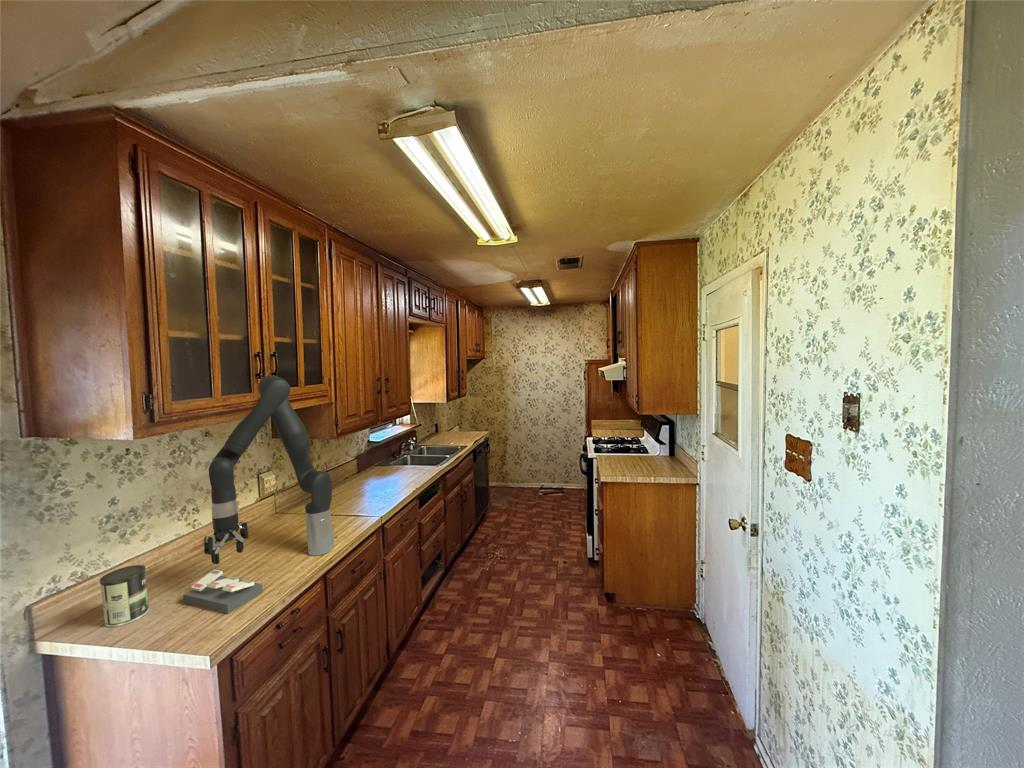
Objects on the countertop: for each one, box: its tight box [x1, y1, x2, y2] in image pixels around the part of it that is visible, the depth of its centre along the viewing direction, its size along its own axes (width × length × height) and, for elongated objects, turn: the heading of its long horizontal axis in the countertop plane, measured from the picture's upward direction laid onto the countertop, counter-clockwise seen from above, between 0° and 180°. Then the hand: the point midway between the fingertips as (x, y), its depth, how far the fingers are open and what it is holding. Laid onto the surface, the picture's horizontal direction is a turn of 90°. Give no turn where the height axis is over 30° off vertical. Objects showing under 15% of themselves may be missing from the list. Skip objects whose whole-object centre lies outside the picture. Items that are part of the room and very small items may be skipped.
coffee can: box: [99, 564, 150, 628], centre depth 127 cm, size 10×10×14 cm
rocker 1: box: [190, 569, 224, 591], centre depth 138 cm, size 8×5×1 cm, turn 161°
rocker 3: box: [222, 580, 255, 592], centre depth 134 cm, size 8×5×1 cm, turn 161°
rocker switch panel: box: [182, 575, 263, 615], centre depth 136 cm, size 12×20×3 cm, turn 71°
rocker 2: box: [207, 577, 240, 589], centre depth 136 cm, size 8×5×1 cm, turn 161°
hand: (228, 557), depth 145 cm, fingers open, 8 cm apart
